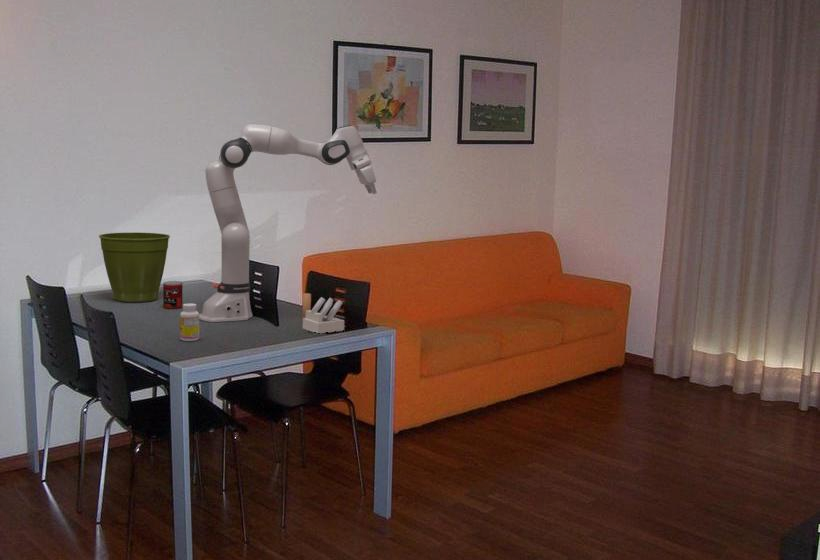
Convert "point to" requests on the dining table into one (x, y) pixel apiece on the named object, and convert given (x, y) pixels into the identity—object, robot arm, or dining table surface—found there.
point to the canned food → (172, 295)
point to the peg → (306, 304)
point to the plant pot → (134, 264)
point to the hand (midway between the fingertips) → (372, 193)
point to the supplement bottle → (189, 323)
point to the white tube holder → (323, 318)
